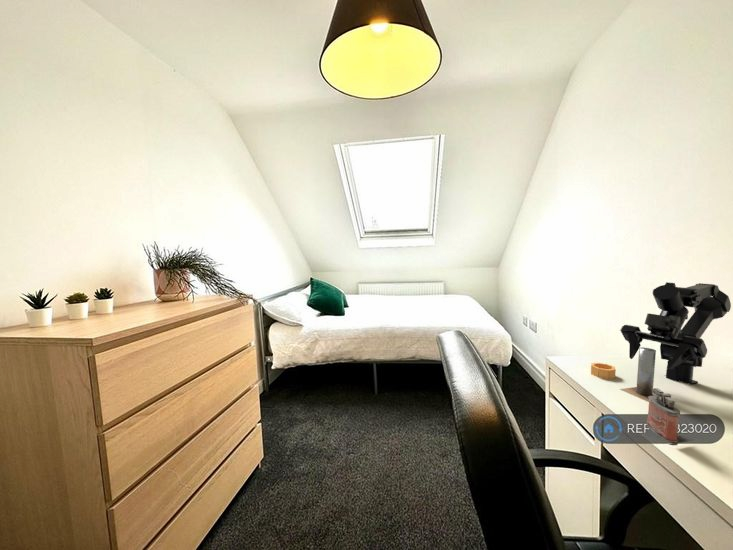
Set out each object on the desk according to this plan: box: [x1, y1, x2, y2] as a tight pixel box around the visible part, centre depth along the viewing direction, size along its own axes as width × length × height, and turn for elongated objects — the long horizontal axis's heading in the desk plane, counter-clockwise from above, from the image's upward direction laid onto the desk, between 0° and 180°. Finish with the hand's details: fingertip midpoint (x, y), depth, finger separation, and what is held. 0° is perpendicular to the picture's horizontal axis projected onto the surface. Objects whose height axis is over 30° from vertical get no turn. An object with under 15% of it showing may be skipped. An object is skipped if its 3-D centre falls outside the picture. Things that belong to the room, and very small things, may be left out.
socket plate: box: [590, 362, 617, 380], centre depth 109 cm, size 9×9×4 cm
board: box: [619, 386, 656, 403], centre depth 95 cm, size 8×8×1 cm
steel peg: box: [636, 346, 657, 396], centre depth 95 cm, size 4×4×13 cm
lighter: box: [646, 387, 682, 446], centre depth 76 cm, size 8×3×10 cm, turn 168°
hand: (649, 363), depth 95 cm, fingers open, 9 cm apart
